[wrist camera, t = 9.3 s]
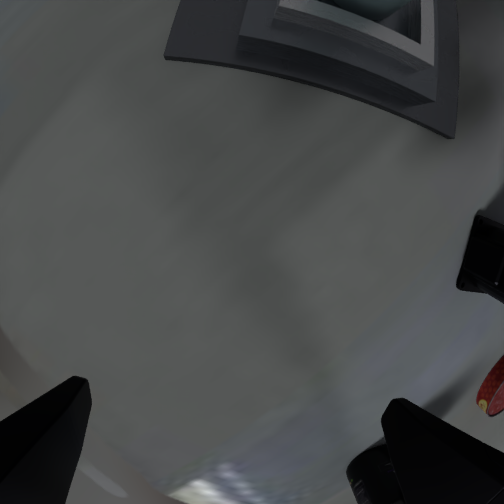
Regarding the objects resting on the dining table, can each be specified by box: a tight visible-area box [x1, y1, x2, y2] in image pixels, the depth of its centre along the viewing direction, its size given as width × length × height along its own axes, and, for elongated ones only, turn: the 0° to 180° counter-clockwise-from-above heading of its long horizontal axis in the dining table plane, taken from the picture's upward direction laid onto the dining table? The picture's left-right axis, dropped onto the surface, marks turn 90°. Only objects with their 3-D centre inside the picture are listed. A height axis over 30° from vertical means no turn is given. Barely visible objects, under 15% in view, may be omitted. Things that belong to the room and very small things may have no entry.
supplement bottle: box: [346, 445, 406, 504], centre depth 22 cm, size 7×7×12 cm
